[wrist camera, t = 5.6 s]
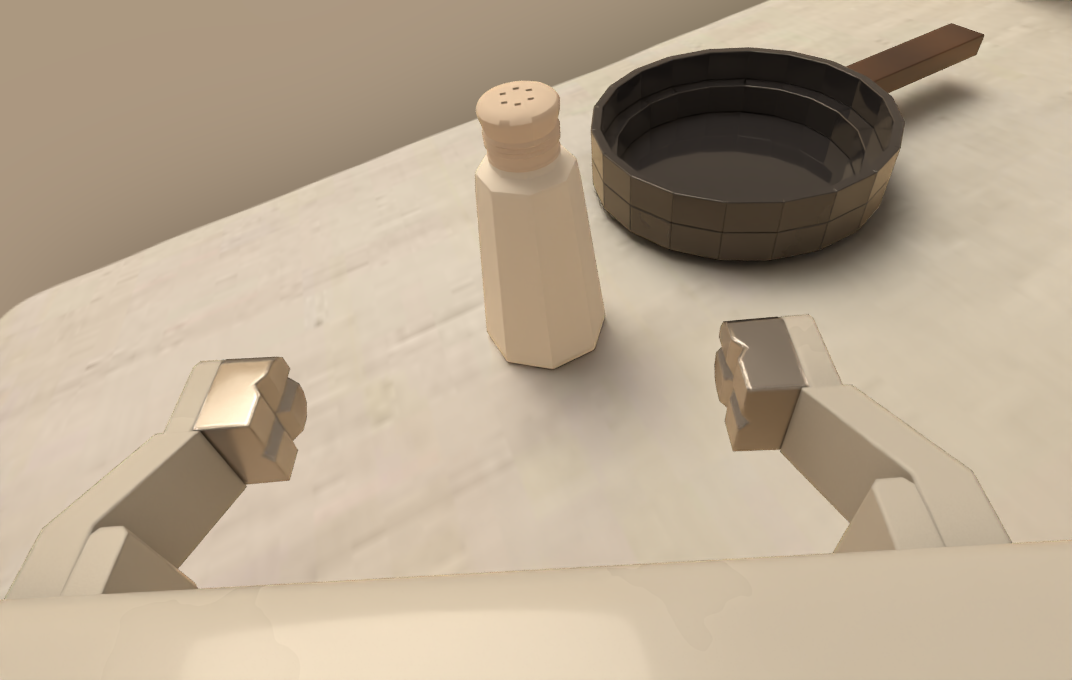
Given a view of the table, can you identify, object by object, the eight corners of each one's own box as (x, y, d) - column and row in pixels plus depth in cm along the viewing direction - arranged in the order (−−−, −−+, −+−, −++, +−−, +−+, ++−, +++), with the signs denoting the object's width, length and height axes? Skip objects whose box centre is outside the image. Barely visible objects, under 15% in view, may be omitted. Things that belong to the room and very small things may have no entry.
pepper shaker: (484, 293, 31) (435, 71, 23) (595, 277, 31) (585, 49, 23) (490, 380, 27) (434, 152, 19) (616, 362, 27) (613, 126, 19)
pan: (744, 84, 42) (753, 25, 39) (946, 193, 33) (977, 124, 30) (546, 164, 38) (539, 104, 35) (710, 313, 29) (720, 247, 26)
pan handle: (944, 43, 39) (951, 22, 38) (977, 55, 37) (985, 34, 37) (822, 94, 36) (827, 73, 35) (853, 109, 35) (859, 88, 34)
